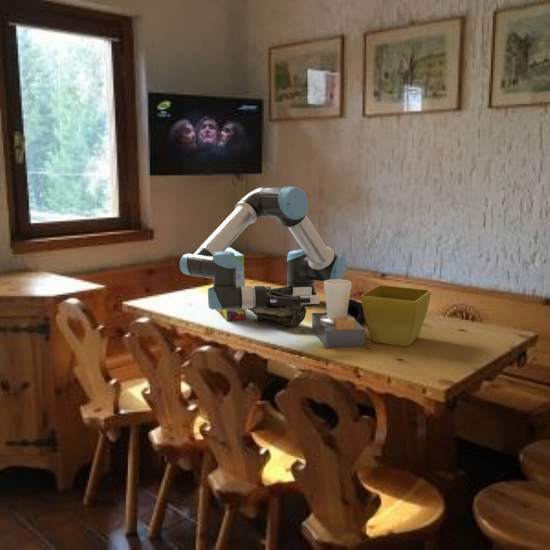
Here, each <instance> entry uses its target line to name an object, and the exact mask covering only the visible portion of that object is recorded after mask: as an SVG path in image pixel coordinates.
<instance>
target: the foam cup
mask: <svg viewBox="0 0 550 550" xmlns="http://www.w3.org/2000/svg"><path fill="white" fill-rule="evenodd" d="M323 289H324V290H323V291H324V295H325V296H324V297H325V304H326V305H325V306H326V313H327V315H328V319H329V320H333V317H347V311H348V304H349V299H350V296H351V292H352V291H351V290H352V281H351V280H349V279H332V280H325V281H324V282H323Z"/></svg>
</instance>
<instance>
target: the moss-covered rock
mask: <svg viewBox="0 0 550 550" xmlns="http://www.w3.org/2000/svg"><path fill="white" fill-rule="evenodd" d="M265 288H266V289H272V288H271V286H265ZM289 296H293V295H289ZM300 296H302V295H296V297H300ZM247 310H248V311H251V312H252V313H253V315H255V316H256V318H257V321H263V320H265V319H267V320H271V321H275V322H277V323H278V324H281V325H284V326H287V327H291V328H293V329H295V328H297V327H298V326H299V325H300V324H302V322H303V321H304V319H305V318H306V314H307V308H306V306H304V305H303V304H301V307H298V306H289V305H271V304H270V302H267V303H266V307H265V308H255V306H254V307H253V308H247Z"/></svg>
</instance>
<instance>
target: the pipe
mask: <svg viewBox="0 0 550 550" xmlns="http://www.w3.org/2000/svg"><path fill="white" fill-rule="evenodd" d="M347 312H348V313H349V314H350V315H351V316H352V317H354V318H355V320H356V321H357V322H358V323H359V324H360V323H361V322H364V321H365V317H364V312H363V306H362V302H360V301H357V300H355V299H352V298H351V299H350V298H349V304H348V311H347Z"/></svg>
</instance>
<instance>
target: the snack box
mask: <svg viewBox="0 0 550 550" xmlns="http://www.w3.org/2000/svg"><path fill="white" fill-rule="evenodd" d="M225 251H230V252H233V253H234V254H235V261H236V287H243V286H246V282H245V281H246V277H245V255H244V254H242V253H241V252H239V251H237V250H235V249H234V248H232V247H228V248H227V249H226V250H225ZM217 311H218V313H219V314H220V315H221V316H222V318H223V319H224V320H226V322H229V321H230V322H231V321H232V322H233V321H241V320H244V321H245V320H247V317H246V316H247V315H246V313H247V310H244V309H226V310H217Z"/></svg>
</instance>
